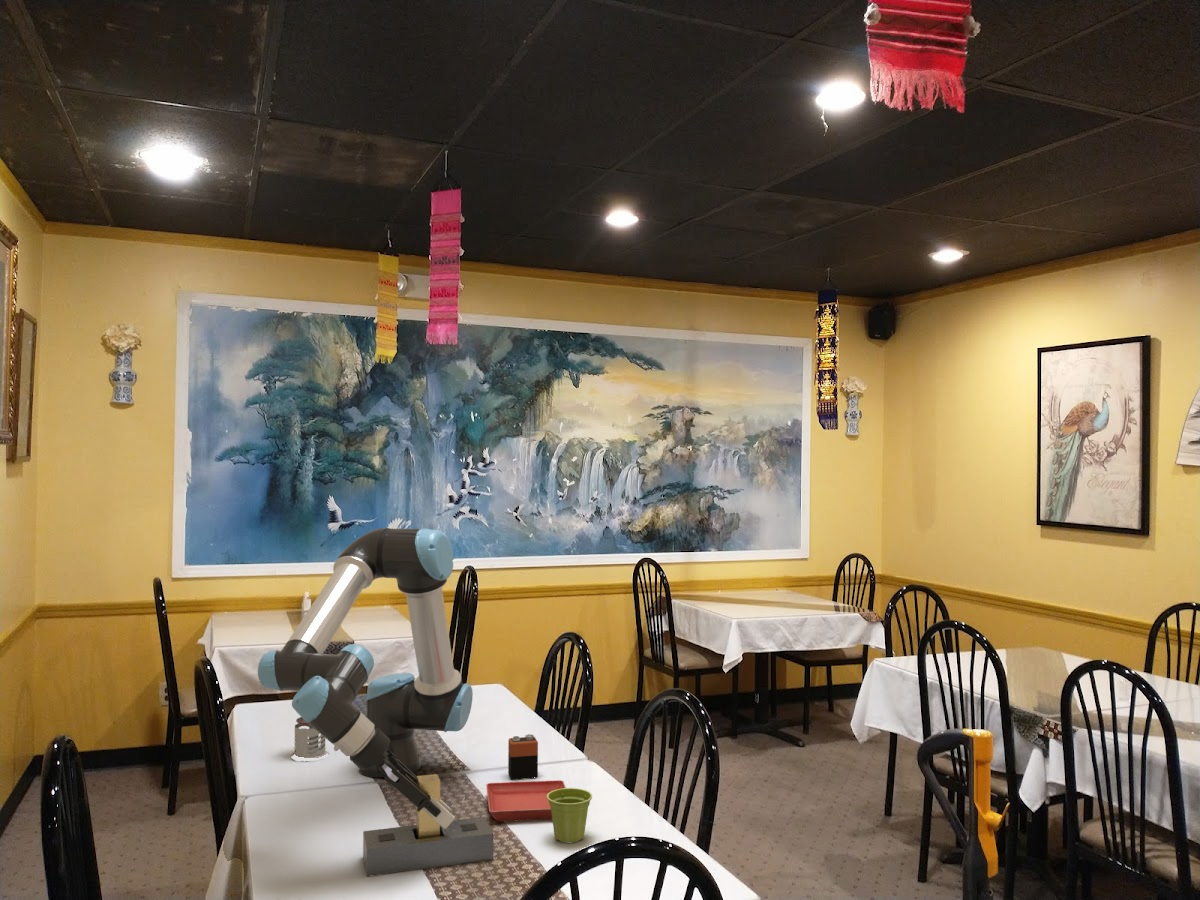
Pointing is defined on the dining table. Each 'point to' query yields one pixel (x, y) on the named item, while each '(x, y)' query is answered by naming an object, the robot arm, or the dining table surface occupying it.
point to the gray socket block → (426, 847)
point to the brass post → (424, 822)
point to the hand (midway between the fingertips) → (447, 818)
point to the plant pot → (569, 813)
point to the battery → (523, 757)
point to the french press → (302, 741)
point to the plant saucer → (521, 799)
